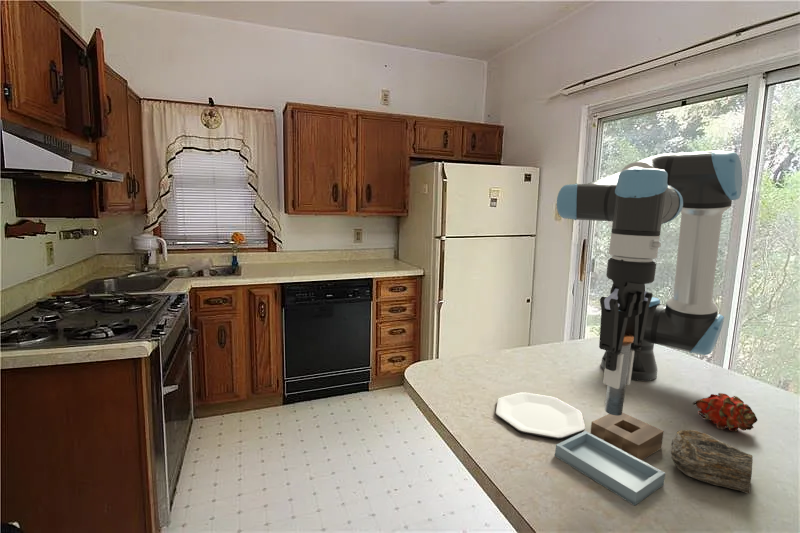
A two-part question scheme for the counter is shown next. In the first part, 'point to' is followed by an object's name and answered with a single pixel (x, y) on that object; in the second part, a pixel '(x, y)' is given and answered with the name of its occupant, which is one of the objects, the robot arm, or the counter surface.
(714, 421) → the dragon fruit
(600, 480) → the tray
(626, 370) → the lock pin
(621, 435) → the block
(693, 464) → the stone
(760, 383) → the counter surface
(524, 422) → the plate
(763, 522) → the counter surface
